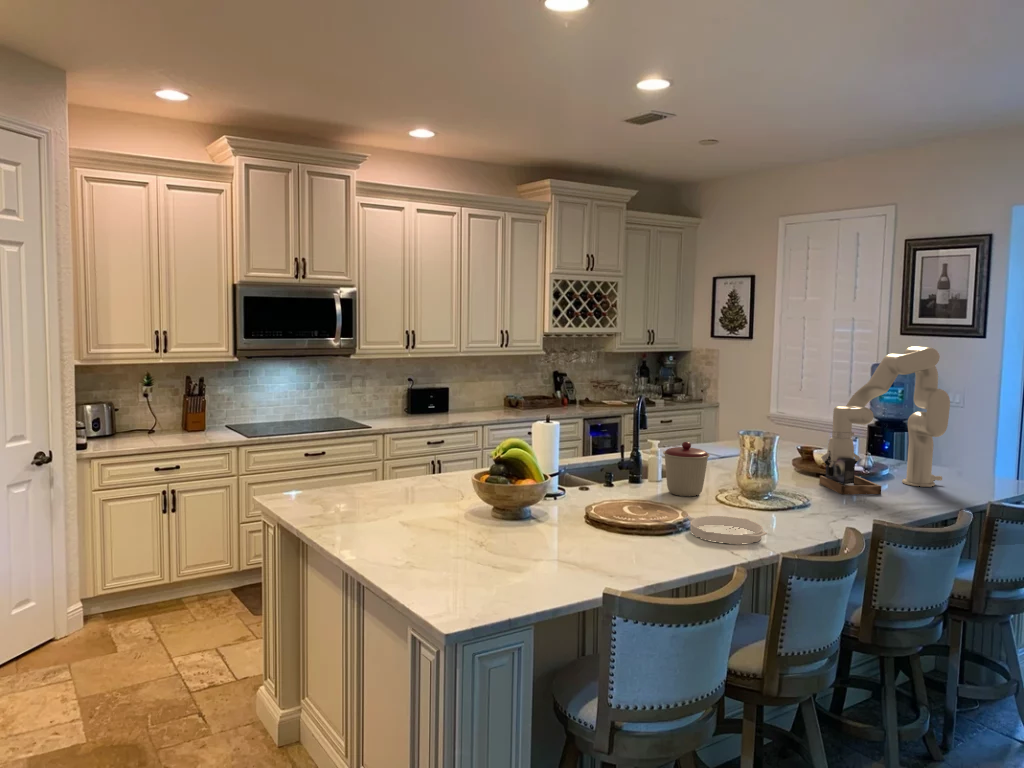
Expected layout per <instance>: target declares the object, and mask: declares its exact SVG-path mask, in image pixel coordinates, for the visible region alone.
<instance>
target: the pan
mask: <svg viewBox="0 0 1024 768" xmlns="http://www.w3.org/2000/svg"><path fill="white" fill-rule="evenodd" d="M686 516H687V517H688V519H689V520H688V521H690V523H689V524H690V531H691V532H690V533H691V534H692V533H693V534H694V535H695V537H696V536H697V537H700V538H702V539H706V540H711V541H716V542H723V543H732V544H742V543H752V544H754V543H753V542H756V543H758V542H759V541H761V540H762V537H763V536H765V535H767V534H768V533H767V532H766V531H764V527H763V526H762V525H761V524H759V523H757V522H755V521H753V520H750V519H748V518H742V517H734V516H724V515H722V516H721V515H707V516H705V515H704V516H699V517H696V518H695V517H692V516H688V515H686ZM704 525H724V526H733V527H732V528H734V527H739V528H738V529H740V528H744V529H747V530H750V531H753V532H755V533H753V534H743V535H733V534H721V533H714V532H706V531H703V530H702V529H699V528H697V527H699V526H704ZM729 529H731V528H729ZM726 530H727V529H726ZM735 530H736V529H735ZM729 532H730V531H729ZM693 534H692V535H693ZM694 535H693V536H694ZM697 537H696V538H697ZM700 538H699V539H700ZM702 539H701V540H702ZM757 541H758V542H757Z"/></svg>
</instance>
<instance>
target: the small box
mask: <svg viewBox="0 0 1024 768" xmlns="http://www.w3.org/2000/svg"><path fill="white" fill-rule="evenodd" d="M828 458H831V457H830V456H829V457H828ZM826 459H827V458H826ZM827 461H829V460H828V459H827ZM855 466H856V464H855V458H854V459H852V458H842V459H838V460H837V462H834V464H833V465H832V467H833V476H829V475H828V474H827V466H826V465H825V477H826V478H829V479H831V480H833V481H835V482H838V483H840V484H842V485H847V484H848V485H850V484H854V476H855V471H856V470H855V468H856V467H855Z"/></svg>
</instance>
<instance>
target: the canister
mask: <svg viewBox="0 0 1024 768" xmlns="http://www.w3.org/2000/svg"><path fill="white" fill-rule="evenodd" d="M662 454H663V455H664V463H665V466H664V467H665V478H666V486H667V489H668V492H669V493H670V494H671V495H674V496H678V495H680V496H679V497H696V495H697V496H699V495H700V494H701V493H702V491H703V488H704V483H705V478H706V472H707V465H708V458H709V457H710V454H709V453H708V452H707V451H706V450H703V449H700V448H696V447H692V444H691V442H689V441H683V442H682V444H681V446H679V447H677V446H676V447H675V446H674V447H669V448H667V449H666V450H664V451H663V452H662Z"/></svg>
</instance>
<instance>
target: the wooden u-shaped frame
mask: <svg viewBox="0 0 1024 768" xmlns="http://www.w3.org/2000/svg"><path fill="white" fill-rule="evenodd" d="M819 485H821V486H824V487H826V488H827V489H830V490H831V489H832V491H834V492H836V493H837V494H840V495H854V494H881V495H882V485H879V484H878V483H875V482H872V481H870V480H867V479H865V478H863V477H860V476H858V475H854V483H853V485H850V484H848V485H847V484H841V483H838V482H835V481H833V480H831V479H829V478H826V476H823V475H819Z"/></svg>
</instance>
